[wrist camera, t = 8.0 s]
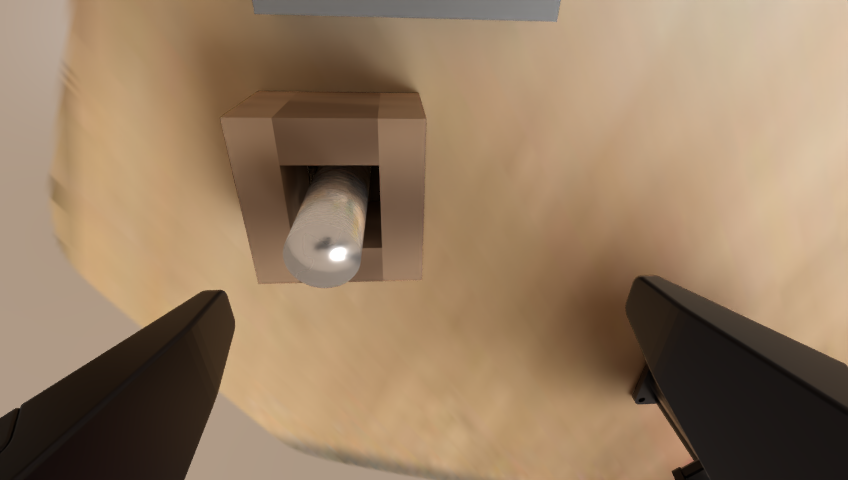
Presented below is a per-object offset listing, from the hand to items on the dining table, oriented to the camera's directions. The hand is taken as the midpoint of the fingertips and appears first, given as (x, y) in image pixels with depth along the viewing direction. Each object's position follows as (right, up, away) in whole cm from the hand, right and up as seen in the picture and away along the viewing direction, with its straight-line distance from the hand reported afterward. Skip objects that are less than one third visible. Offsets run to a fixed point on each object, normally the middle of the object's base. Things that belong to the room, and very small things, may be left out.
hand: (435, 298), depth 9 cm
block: (-4, +5, +11) cm, 12 cm away
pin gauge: (-4, +5, +11) cm, 12 cm away
